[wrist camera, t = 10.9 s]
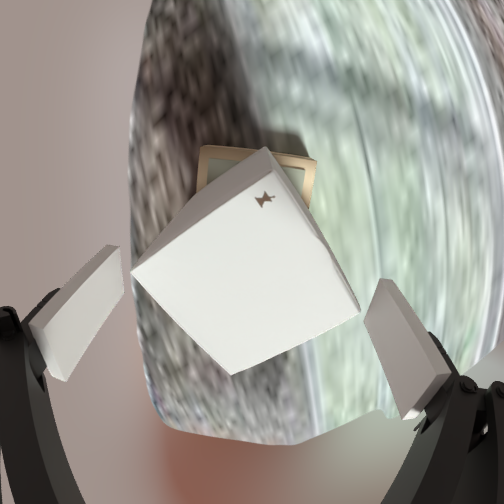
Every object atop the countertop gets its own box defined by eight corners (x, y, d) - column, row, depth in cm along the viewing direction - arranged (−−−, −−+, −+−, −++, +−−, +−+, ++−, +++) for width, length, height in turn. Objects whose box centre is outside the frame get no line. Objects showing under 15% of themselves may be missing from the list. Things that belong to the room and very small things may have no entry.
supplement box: (188, 197, 27) (120, 269, 13) (266, 144, 25) (274, 160, 11) (241, 268, 30) (228, 380, 16) (317, 223, 28) (366, 314, 14)
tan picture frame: (207, 144, 29) (199, 147, 25) (309, 157, 29) (317, 161, 25) (200, 239, 33) (192, 254, 29) (293, 250, 34) (297, 267, 30)
